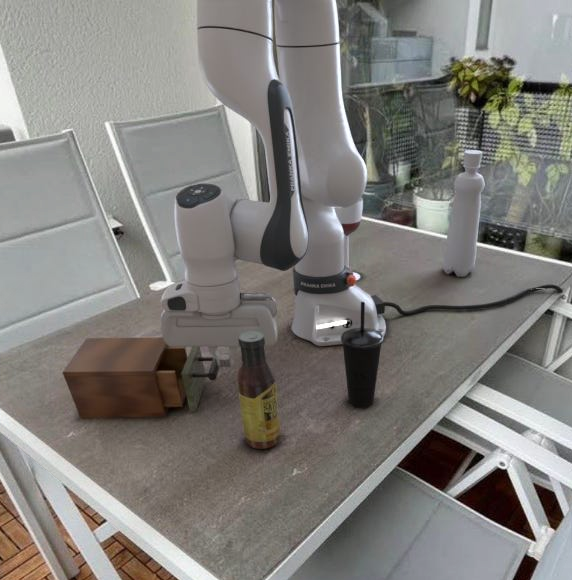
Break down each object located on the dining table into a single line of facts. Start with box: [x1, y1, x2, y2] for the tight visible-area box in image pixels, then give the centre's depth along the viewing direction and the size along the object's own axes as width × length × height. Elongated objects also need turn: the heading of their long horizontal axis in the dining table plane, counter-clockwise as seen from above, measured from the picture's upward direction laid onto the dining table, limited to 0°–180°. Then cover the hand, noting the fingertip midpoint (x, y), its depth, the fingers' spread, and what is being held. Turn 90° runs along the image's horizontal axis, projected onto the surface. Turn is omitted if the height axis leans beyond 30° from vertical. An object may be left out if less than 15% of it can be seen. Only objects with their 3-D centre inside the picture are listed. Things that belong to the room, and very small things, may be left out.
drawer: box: [155, 346, 220, 411], centre depth 104 cm, size 19×12×8 cm, turn 92°
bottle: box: [441, 149, 486, 278], centre depth 147 cm, size 9×9×30 cm
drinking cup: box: [341, 302, 384, 409], centre depth 100 cm, size 8×8×20 cm
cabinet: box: [62, 336, 170, 419], centre depth 104 cm, size 16×13×10 cm
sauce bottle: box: [237, 331, 281, 450], centre depth 91 cm, size 7×6×20 cm
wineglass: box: [334, 196, 364, 281], centre depth 147 cm, size 8×9×20 cm
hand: (226, 365), depth 103 cm, fingers closed
